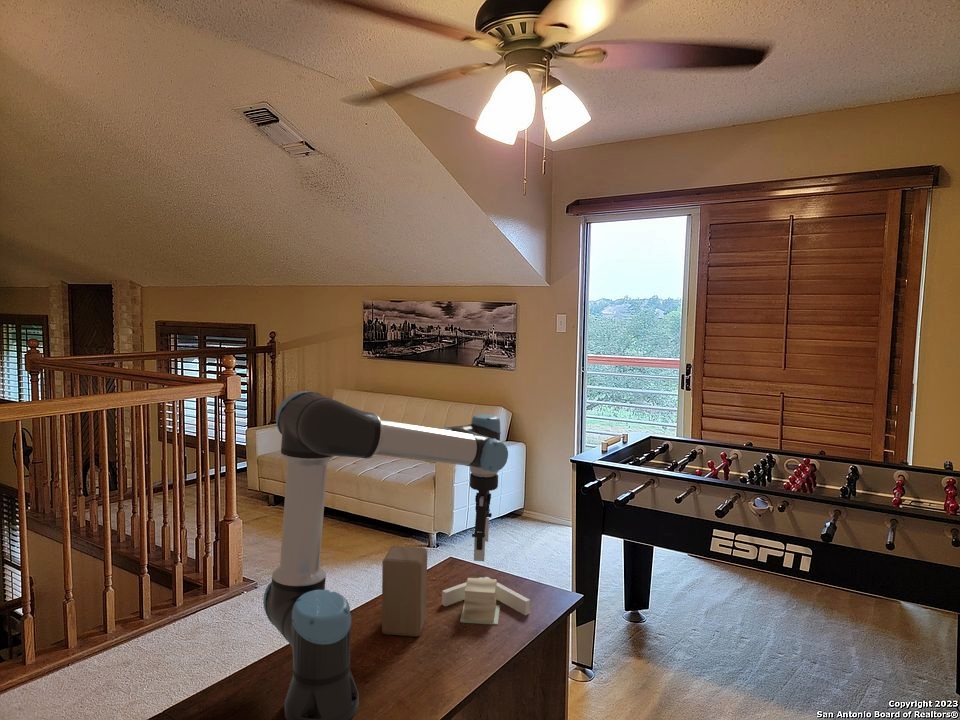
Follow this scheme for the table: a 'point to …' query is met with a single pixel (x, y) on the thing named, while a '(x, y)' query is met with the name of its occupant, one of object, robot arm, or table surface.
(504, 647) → the table surface
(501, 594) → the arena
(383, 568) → the wooden block
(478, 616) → the birch cube
